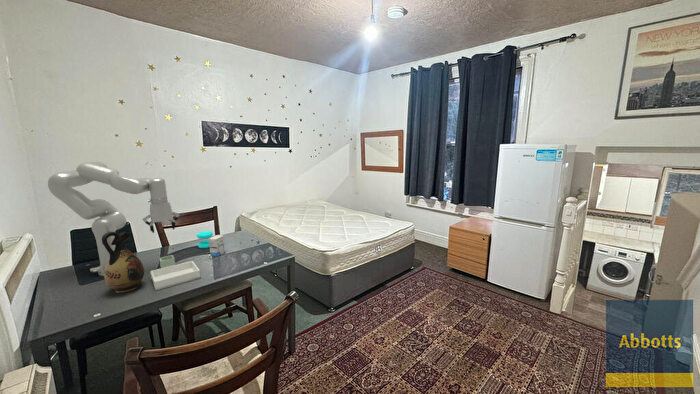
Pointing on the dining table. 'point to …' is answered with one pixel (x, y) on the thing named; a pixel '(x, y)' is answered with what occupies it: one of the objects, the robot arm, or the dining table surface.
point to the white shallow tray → (174, 275)
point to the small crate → (167, 261)
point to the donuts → (204, 236)
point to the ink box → (216, 245)
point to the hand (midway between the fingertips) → (163, 230)
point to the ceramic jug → (122, 264)
